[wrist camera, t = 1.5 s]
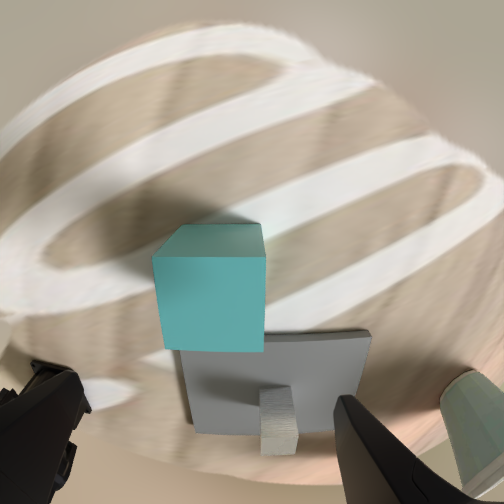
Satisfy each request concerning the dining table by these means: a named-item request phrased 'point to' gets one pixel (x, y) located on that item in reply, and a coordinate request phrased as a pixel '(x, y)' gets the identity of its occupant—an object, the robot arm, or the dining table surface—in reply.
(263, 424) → the post
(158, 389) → the dining table surface
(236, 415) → the board
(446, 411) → the disposable coffee cup
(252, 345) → the turquoise toy brick
